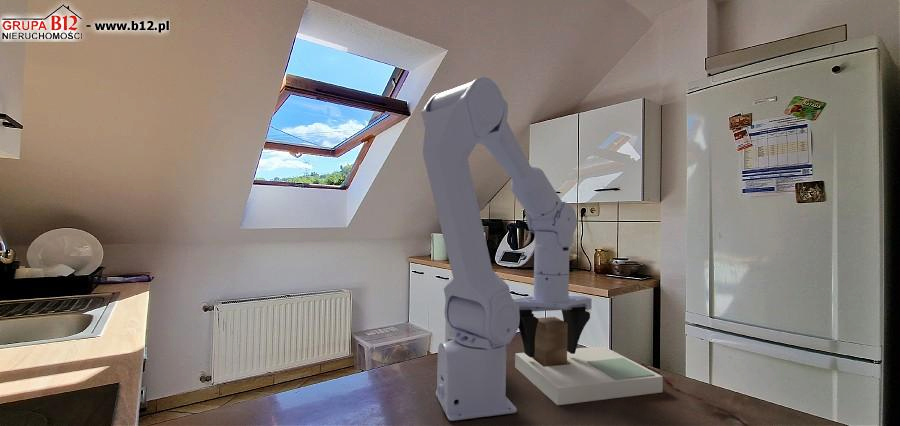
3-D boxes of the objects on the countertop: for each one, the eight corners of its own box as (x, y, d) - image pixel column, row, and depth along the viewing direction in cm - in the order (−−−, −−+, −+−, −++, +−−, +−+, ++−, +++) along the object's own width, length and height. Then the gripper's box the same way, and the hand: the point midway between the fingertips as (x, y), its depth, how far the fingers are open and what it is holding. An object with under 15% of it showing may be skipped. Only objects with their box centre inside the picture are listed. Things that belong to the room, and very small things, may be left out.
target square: (615, 379, 57) (615, 378, 57) (587, 362, 64) (587, 361, 64) (654, 375, 59) (654, 374, 59) (623, 359, 66) (623, 357, 66)
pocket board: (557, 405, 54) (557, 388, 54) (514, 367, 68) (515, 353, 68) (662, 392, 59) (662, 376, 59) (603, 358, 73) (603, 346, 73)
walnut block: (544, 380, 63) (545, 324, 63) (533, 370, 67) (534, 318, 67) (566, 377, 64) (567, 323, 64) (554, 368, 68) (554, 316, 68)
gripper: (522, 277, 60) (521, 366, 59) (603, 275, 63) (602, 358, 63) (504, 271, 66) (502, 350, 66) (578, 269, 70) (577, 344, 70)
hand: (550, 353), depth 65 cm, fingers open, 7 cm apart
